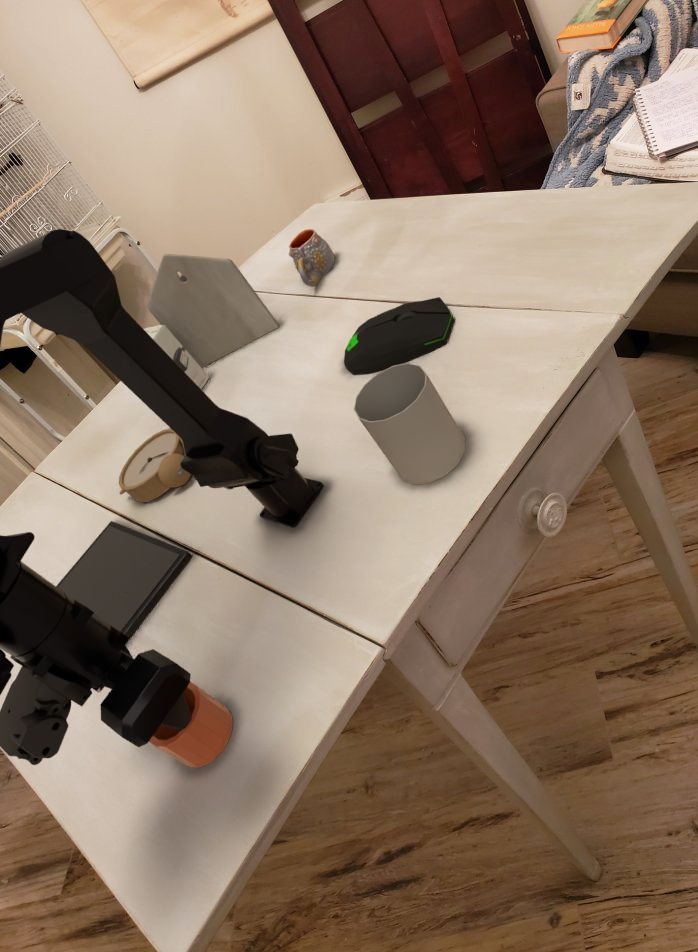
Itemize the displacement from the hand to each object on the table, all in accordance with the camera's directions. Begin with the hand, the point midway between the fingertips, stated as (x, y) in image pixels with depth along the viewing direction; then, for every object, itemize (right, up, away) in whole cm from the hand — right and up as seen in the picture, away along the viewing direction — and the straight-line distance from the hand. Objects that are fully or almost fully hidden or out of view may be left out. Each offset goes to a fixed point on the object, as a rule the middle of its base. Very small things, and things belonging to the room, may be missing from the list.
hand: (167, 709), depth 65 cm
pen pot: (+3, -4, +3) cm, 6 cm away
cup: (+25, +23, +15) cm, 37 cm away
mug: (+8, +53, +60) cm, 80 cm away
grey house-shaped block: (-5, +43, +59) cm, 73 cm away
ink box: (-13, +33, +55) cm, 66 cm away
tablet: (-14, +7, +28) cm, 32 cm away
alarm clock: (-11, +20, +39) cm, 46 cm away
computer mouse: (+22, +38, +34) cm, 56 cm away
